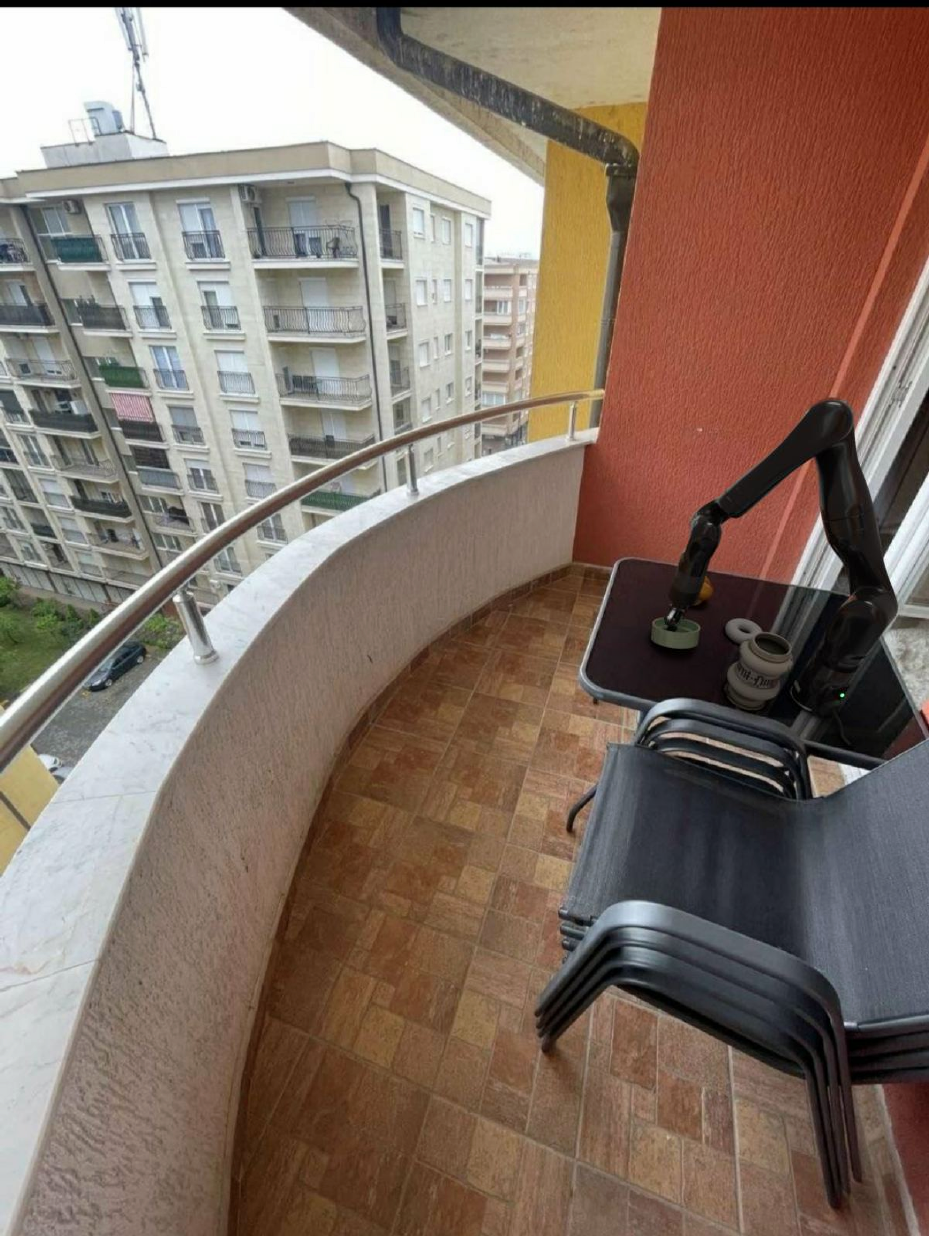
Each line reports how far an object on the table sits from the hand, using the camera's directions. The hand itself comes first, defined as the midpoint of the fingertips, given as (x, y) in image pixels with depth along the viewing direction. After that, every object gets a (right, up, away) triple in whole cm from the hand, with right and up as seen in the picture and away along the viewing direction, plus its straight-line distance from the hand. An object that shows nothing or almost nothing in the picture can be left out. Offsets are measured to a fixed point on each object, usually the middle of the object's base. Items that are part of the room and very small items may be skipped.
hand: (670, 633), depth 153 cm
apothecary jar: (+13, -15, -14) cm, 25 cm away
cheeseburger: (+12, +10, +16) cm, 22 cm away
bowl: (0, -2, -2) cm, 3 cm away
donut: (+22, -1, +3) cm, 22 cm away
